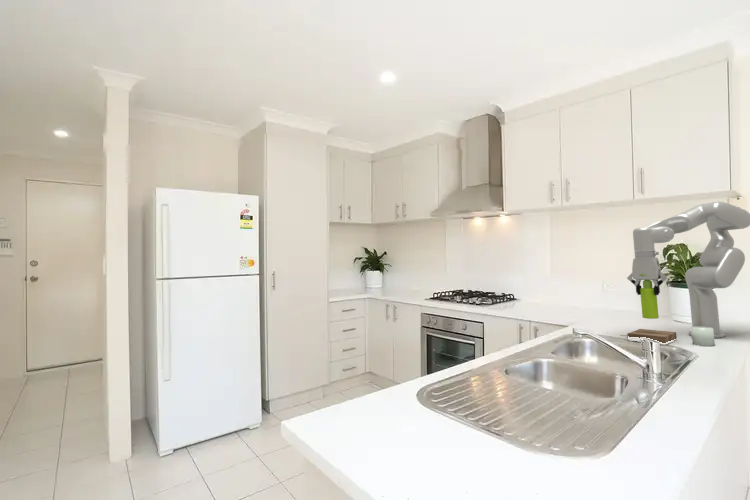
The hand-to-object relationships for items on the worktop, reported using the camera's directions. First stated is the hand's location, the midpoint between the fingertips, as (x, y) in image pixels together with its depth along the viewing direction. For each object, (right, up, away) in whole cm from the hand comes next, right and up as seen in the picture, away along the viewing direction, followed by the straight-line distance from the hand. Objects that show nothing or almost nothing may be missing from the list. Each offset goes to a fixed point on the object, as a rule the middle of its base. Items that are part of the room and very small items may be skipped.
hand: (647, 294), depth 170 cm
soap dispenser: (+1, -11, -1) cm, 11 cm away
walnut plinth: (+1, -21, -1) cm, 21 cm away
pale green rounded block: (+14, -20, -12) cm, 27 cm away
